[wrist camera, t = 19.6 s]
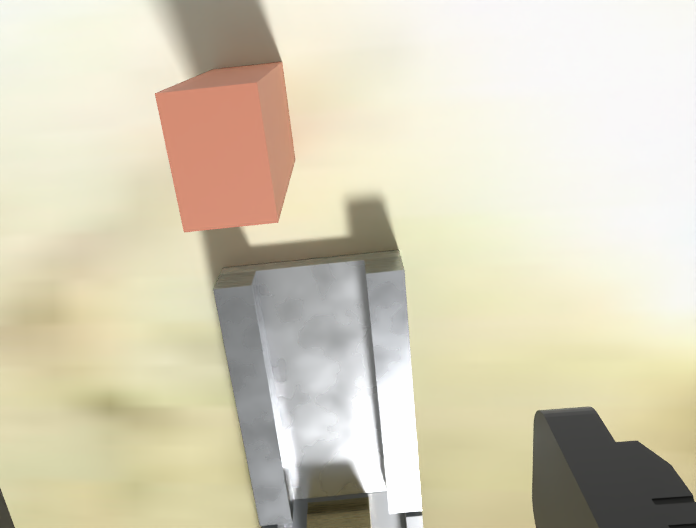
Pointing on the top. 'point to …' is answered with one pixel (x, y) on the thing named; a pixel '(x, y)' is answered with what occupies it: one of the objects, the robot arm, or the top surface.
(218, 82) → the pink rectangular block
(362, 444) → the slot bed
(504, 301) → the top surface
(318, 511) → the tan cubic piece
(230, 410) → the top surface
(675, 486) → the robot arm
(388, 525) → the tray
